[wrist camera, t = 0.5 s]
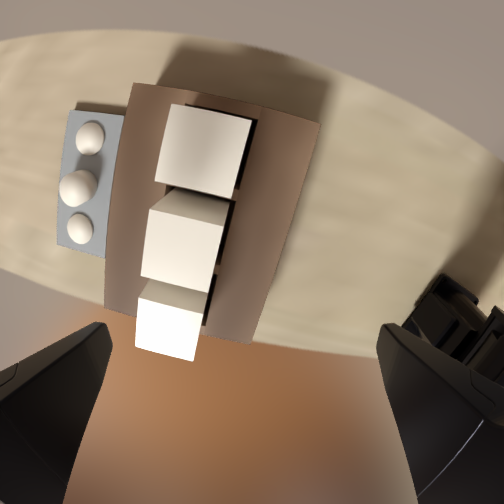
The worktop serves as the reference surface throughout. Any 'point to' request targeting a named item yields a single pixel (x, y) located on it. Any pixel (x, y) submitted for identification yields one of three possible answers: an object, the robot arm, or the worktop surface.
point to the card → (102, 174)
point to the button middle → (184, 238)
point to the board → (241, 203)
